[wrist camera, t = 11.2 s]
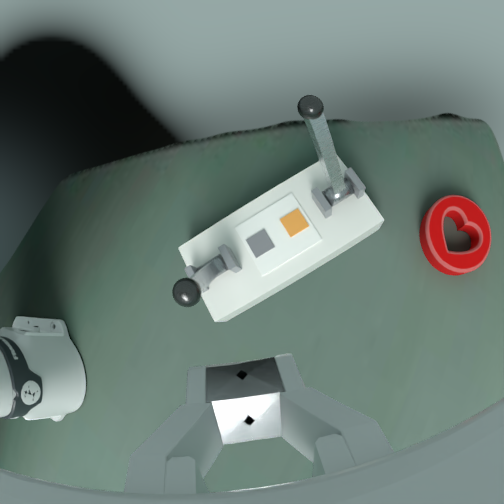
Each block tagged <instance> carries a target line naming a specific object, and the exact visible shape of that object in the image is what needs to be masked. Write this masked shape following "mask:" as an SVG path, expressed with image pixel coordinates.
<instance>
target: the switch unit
mask: <svg viewBox="0 0 504 504" xmlns="http://www.w3.org/2000/svg"><path fill="white" fill-rule="evenodd" d="M336 155H337V154H336ZM337 158H338V161H339V165H340V169H341V172H342V176H343V178H347V179H348V180H349V181H350V182H351V184H352V186H353V188H354V191H355V193H354V194H352V195H351V196H349V197H347V198H346V199H344V200H342V201H341V202H339V203H338V204H336V205H334V206H333V207H331V206H330V204H329V203H328V201H327V200H326V199H325V197H324V196H323V194H322V191H323V190H325V189H326V188H328V185H327V182H326V179H325V176H324V173H323V170H322V167H321V164H320V161H318V162H317V163H315V164H313V165H311V166H310V167H308V168H306V169H305V170H303V171H301V172H299V173H298V174H296V175H294V176H293V177H291V178H289V179H288V180H286V181H284V182H283V183H281V184H279V185H278V186H276V187H274V188H273V189H271V190H269V191H268V192H266V193H264V194H263V195H261V196H259V197H258V198H256V199H254V200H253V201H251V202H250V203H248V204H246V205H245V206H243V207H242V208H240V209H238V210H237V211H235V212H233V213H232V214H230V215H229V216H227V217H225V218H224V219H222V220H221V221H219V222H218V223H216V224H214V225H213V226H211V227H210V228H208V229H206V230H205V231H203V232H202V233H200V234H199V235H197V236H196V237H194V238H192V239H191V240H189V241H188V242H186V243H185V244H183V245H182V246H180V247H179V251H180V253H181V255H182V257H183V259H184V261H185V263H186V265H187V267H186V268H184V269H185V271H186V273H187V275H188V277H189V278H190V277H191V276H192V275H194V274H195V273H196V272H197V271H196V268H197V267H199V266H200V265H202V264H204V263H205V262H207V261H209V260H210V259H212V258H213V257H215V256H217V255H218V254H221V255H222V257H223V259H224V261H225V262H226V264H227V266H228V268H229V270H227V271H226V272H224V273H222V274H221V275H219V276H218V277H216V278H215V279H214V280H213V281H212V282H211V283H210V284H209V286H208V287H207V288H206V289H205V290H204V291H203V292H202V294H201V296H202V298H203V300H204V302H205V304H206V306H207V308H208V310H209V311H210V313H211V315H212V317H213V319H214V321H215V322H226V321H228V320H229V319H231V318H233V317H235V316H237V315H238V314H240V313H242V312H244V311H245V310H247V309H249V308H251V307H252V306H254V305H256V304H257V303H259V302H261V301H263V300H264V299H266V298H268V297H270V296H271V295H273V294H275V293H276V292H278V291H280V290H281V289H283V288H285V287H287V286H288V285H290V284H292V283H293V282H295V281H297V280H298V279H300V278H302V277H303V276H305V275H307V274H308V273H310V272H311V271H313V270H315V269H316V268H318V267H320V266H321V265H323V264H325V263H326V262H328V261H329V260H331V259H333V258H334V257H336V256H338V255H339V254H341V253H342V252H344V251H346V250H347V249H349V248H350V247H352V246H353V245H355V244H357V243H358V242H360V241H361V240H363V239H364V238H366V237H368V236H369V235H371V234H372V233H374V232H375V231H377V230H378V229H379V228H380V226H381V225H382V223H383V221H384V219H383V217H382V216H381V214H380V213H379V212H378V210H377V209H376V207H375V206H374V204H373V203H372V201H371V200H370V199H369V197H368V196H367V194H366V193H365V188H366V187H365V185H364V184H363V183H362V181H361V180H360V179H359V177H358V176H357V175H356V173H355V172H354V171H353V169H352V168H351V167H350V168H348V169H347V167H346V166H345V165H344V163H343V162H342V161H341V159H340V158H339V157H338V156H337Z"/></svg>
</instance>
